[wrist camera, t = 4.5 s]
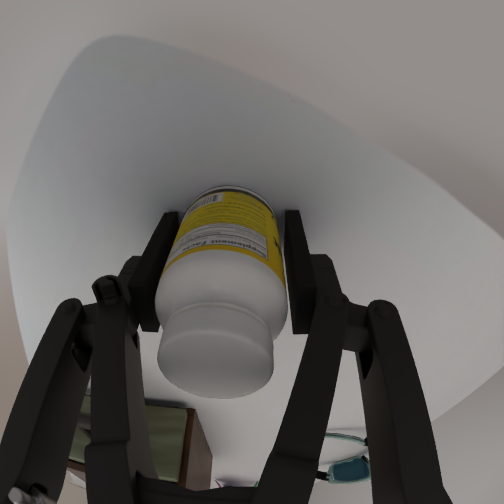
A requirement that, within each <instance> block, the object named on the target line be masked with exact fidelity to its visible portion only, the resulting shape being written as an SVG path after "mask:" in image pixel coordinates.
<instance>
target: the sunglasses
mask: <svg viewBox="0 0 504 504" xmlns="http://www.w3.org/2000/svg"><path fill="white" fill-rule="evenodd" d="M325 438H335V439H342V440H348V441H353V442H357V443H359V444H361V445H364V446H368V440H367V437H366V438H365V439H361V438H359V437H355V436H350V435H344V434H338V433H325ZM332 473H333V476H332ZM333 477H334V480H333ZM316 478H317V479H321V480H325V481H328V482H329V483H332V484H352V483H358V482H363V481H368V480H370V479H371V471H370V461H369V460H368V458H367V457H365V456H364V455H363V456H362V457H360V456H356V457H353V458H350V459H347V460H344V461H340V462H337V463H333V464H332V465H331V466H330V467H329V471H328V473H327V472H321V471H317V474H316Z"/></svg>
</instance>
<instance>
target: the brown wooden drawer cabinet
mask: <svg viewBox="0 0 504 504" xmlns="http://www.w3.org/2000/svg"><path fill="white" fill-rule="evenodd" d="M86 396H89V395H86ZM145 405H146V404H145ZM149 406H154V405H149ZM158 407H163V406H158ZM168 408H174V407H168ZM178 409H186V408H178ZM186 412H187V421H186V428H185V435H184V442H183V450H182V457H181V465H180V473H179V481H178V482H177V484H176V485H179V486H182V487H185V488H187V489H190V490H194V491H201V490H208V489H210V481H211V468H212V454H211V451H210V449H209V446H208V443H207V441H206V438H205V435H204V433H203V430H202V427H201V425H200V422H199V419H198V416H197V413H196V411H195V409H186ZM67 470H68V471H70V472H71V473H73V474H74V475H76V476H77V477H79V478H80V479H82V480H83V481H85V482H86V479H85V465H82V464H79V463H78V462H77V461H75V460H72V459H69V460H68V465H67Z"/></svg>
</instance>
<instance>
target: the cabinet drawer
mask: <svg viewBox="0 0 504 504" xmlns="http://www.w3.org/2000/svg"><path fill="white" fill-rule="evenodd" d="M90 401H91V396H86V395H85V396H84V400H83V403H82V407H81V411H80V414H79V418H78V422H77V426H76V430H75V434H74V438H73V442H72V447H71V451H70V456H69V459H72V460H75V461H77V462H78V463H79V464H82V465H85V464H84V449H85V446H86V445H88V444H90V442H91V421H90ZM145 408H146V416H147V424H148V431H149V438H150V445H151V451H152V457H153V463H154V467H155V470H156V472H157V474H158V477H159V479H160V480H166V481H168V482H171V483H174V484H177V482H178V481H179V473H180V465H181V457H182V450H183V442H184V435H185V428H186V421H187V412H186V409H178V408H168V407H158V406H149V405H145Z"/></svg>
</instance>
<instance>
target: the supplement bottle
mask: <svg viewBox="0 0 504 504" xmlns="http://www.w3.org/2000/svg"><path fill="white" fill-rule="evenodd" d="M155 309H156V314H157V317H158V320H159V323H160V324H161V326H162V328H163V329H164V330H163V334H162V338H161V342H160V346H159V350H158V356H157V359H158V365H159V368H160V370H161V372H162V373H163V374H164V376H165V377H166V378H167V379H168V380H169V381H170V382H171V383H173V384H174V385H176V386H177V387H179V388H181V389H182V390H184V391H187V392H189V393H192V394H195V395H198V396H202V397H208V398H218V399H228V398H237V397H242V396H245V395H248V394H251V393H253V392H256V391H258V390H259V389H261V388H262V387H263V386H265V385H266V384H267V383H268V381H269V380H270V378H271V376H272V374H273V369H274V363H273V347H274V346H273V341H274V340H275V339H276V338H277V336H278V335H279V334H280V332H281V330H282V329H283V327H284V324H285V321H286V318H287V311H288V304H287V292H286V283H285V276H284V268H283V259H282V253H281V245H280V237H279V229H278V224H277V219H276V217H275V214H274V212H273V210H272V208H271V207H270V205H269V204H268V203H267V202H266V201H265V200H264V199H263V198H262V197H260V196H259V195H258V194H256V193H254V192H252V191H250V190H248V189H245V188H241V187H235V186H222V187H217V188H213V189H210V190H208V191H206V192H204V193H203V194H201V195H200V196H198V197H197V198H196V199H195V200H194V201H193V202H192V203H191V205H190V206H189V208H188V209H187V211H186V213H185V215H184V218H183V220H182V223H181V225H180V228H179V230H178V233H177V235H176V238H175V241H174V243H173V246H172V249H171V251H170V254H169V256H168V259H167V262H166V264H165V267H164V270H163V272H162V275H161V278H160V281H159V285H158V288H157V291H156V296H155Z"/></svg>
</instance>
